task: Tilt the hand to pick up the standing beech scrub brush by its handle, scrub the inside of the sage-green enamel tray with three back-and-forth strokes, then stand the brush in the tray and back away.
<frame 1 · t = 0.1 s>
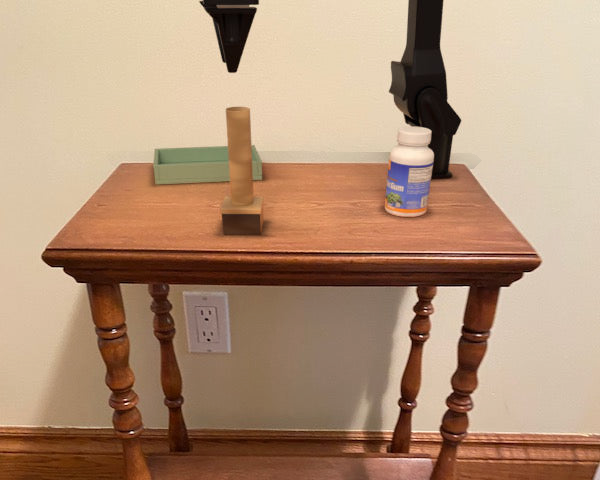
hand: (229, 67, 81), 15 cm above the table, tool pointing down, fingers open, 9 cm apart
tray: (207, 172, 94), on the table
pill bottle: (405, 212, 80), on the table
scrub brush: (243, 228, 74), on the table
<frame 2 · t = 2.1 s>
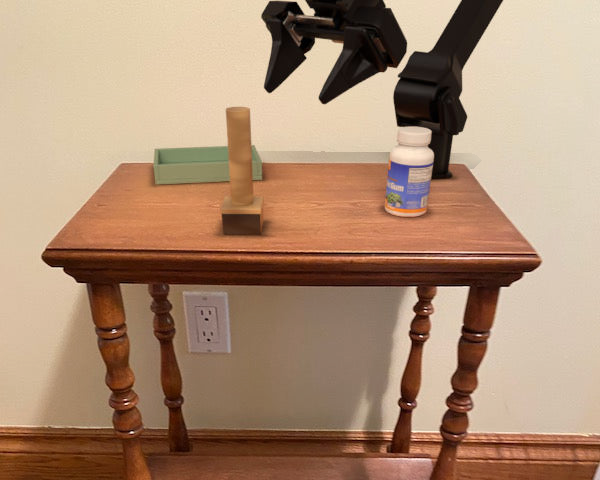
hand: (292, 95, 71), 13 cm above the table, tool tilted 45°, fingers open, 9 cm apart
nothing on the table moved.
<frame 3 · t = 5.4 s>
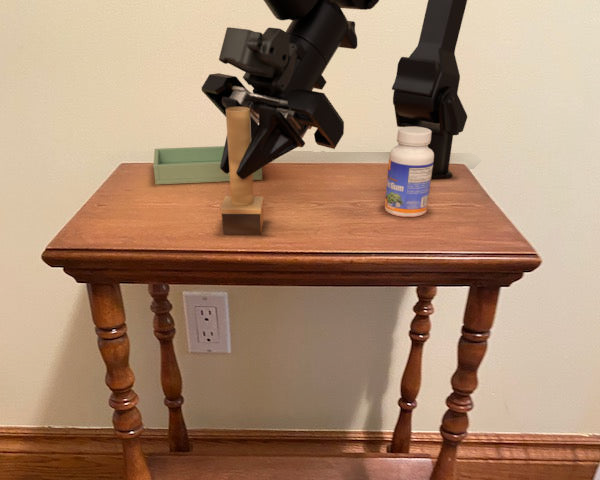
hand: (231, 173, 70), 7 cm above the table, tool tilted 45°, fingers closed on scrub brush, 2 cm apart
scrub brush: (243, 228, 74), on the table, touching gripper
everything else where it was.
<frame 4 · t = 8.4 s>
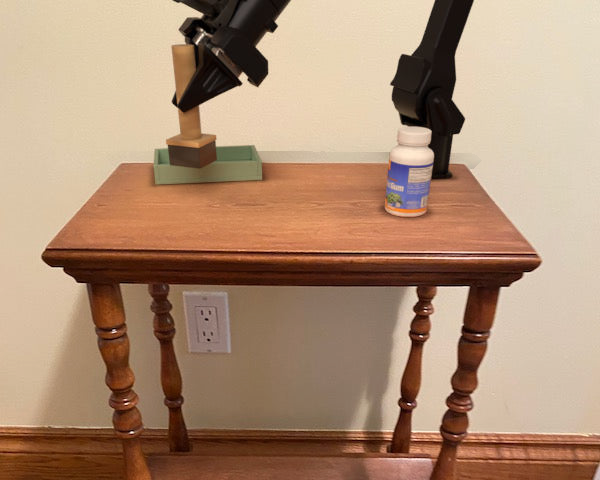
hand: (177, 107, 76), 11 cm above the table, tool tilted 45°, fingers closed on scrub brush, 2 cm apart
scrub brush: (193, 162, 80), point 5 cm above the table, touching gripper
everything else where it was.
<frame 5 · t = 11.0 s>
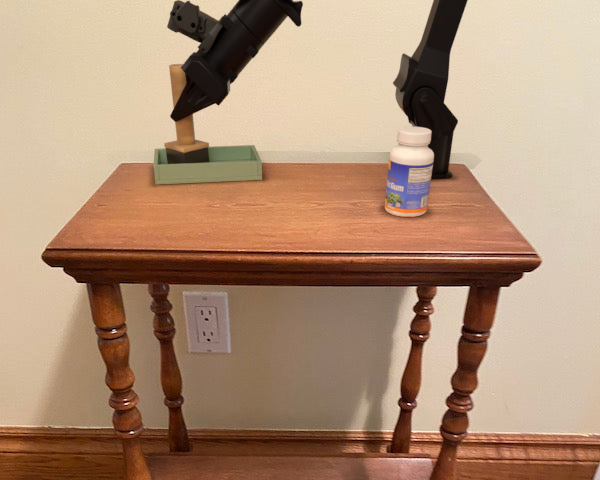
hand: (174, 117, 89), 8 cm above the table, tool tilted 45°, fingers closed on scrub brush, 2 cm apart
scrub brush: (188, 165, 92), point 1 cm above the table, touching gripper
everything else where it was.
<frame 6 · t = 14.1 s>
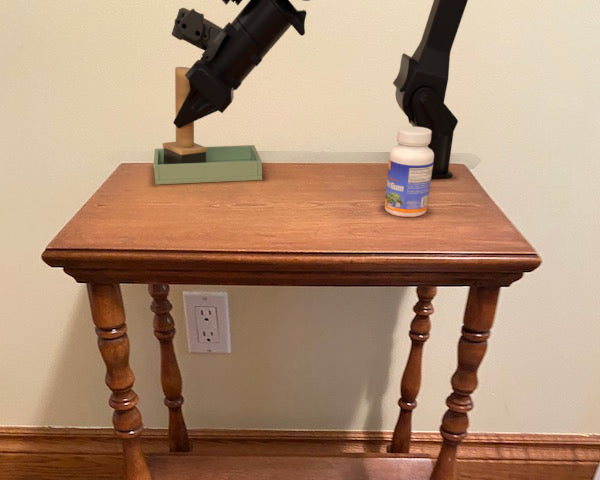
hand: (177, 123, 89), 7 cm above the table, tool tilted 45°, fingers closed on scrub brush, 2 cm apart
scrub brush: (184, 167, 93), point 1 cm above the table, tilted 6°, touching gripper
everything else where it was.
when the fingers open (7 cm above the table, at t = 16.9 s): scrub brush stays where it is, resting on tray.
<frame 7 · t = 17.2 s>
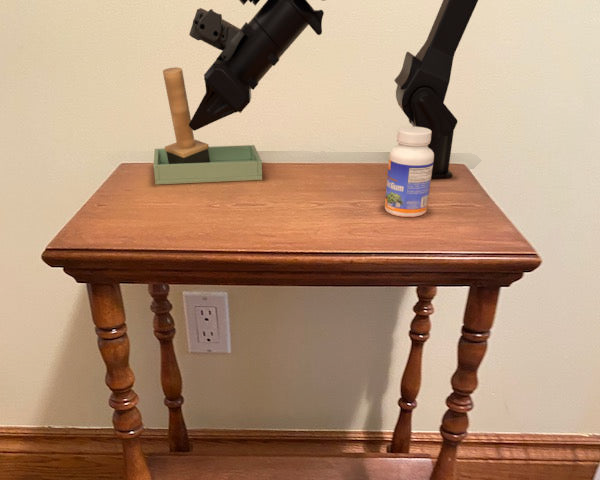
hand: (194, 123, 89), 7 cm above the table, tool tilted 45°, fingers open, 6 cm apart
scrub brush: (190, 166, 93), point 1 cm above the table, tilted 8°, touching tray
everything else where it was.
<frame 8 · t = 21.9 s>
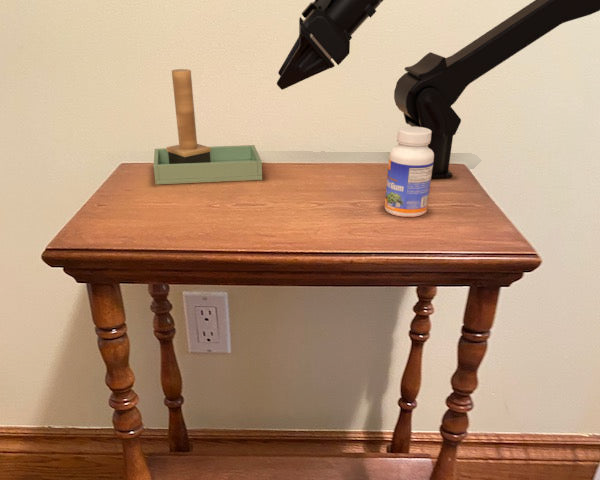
hand: (279, 81, 85), 13 cm above the table, tool tilted 45°, fingers open, 9 cm apart
scrub brush: (190, 169, 93), point 1 cm above the table, touching tray
everything else where it was.
at the end: scrub brush inside the target area in the tray (2.5 cm from its centre), point 0.6 cm above the tray's base; scrub brush tilted 0°; the gripper is holding nothing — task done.
